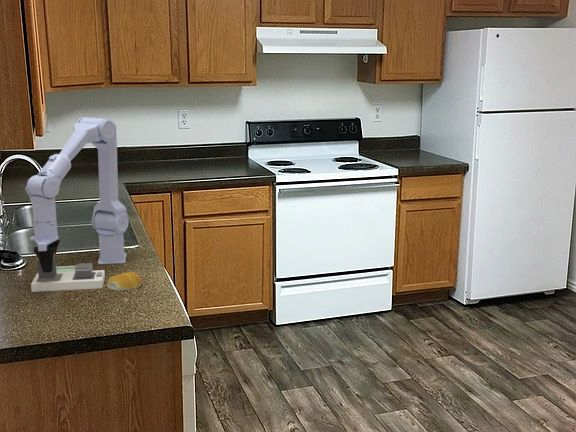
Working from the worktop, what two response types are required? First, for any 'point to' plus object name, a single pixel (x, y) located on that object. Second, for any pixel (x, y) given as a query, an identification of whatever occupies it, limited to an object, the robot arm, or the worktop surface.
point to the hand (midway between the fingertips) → (48, 269)
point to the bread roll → (124, 281)
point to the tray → (65, 268)
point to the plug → (48, 274)
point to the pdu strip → (71, 280)
